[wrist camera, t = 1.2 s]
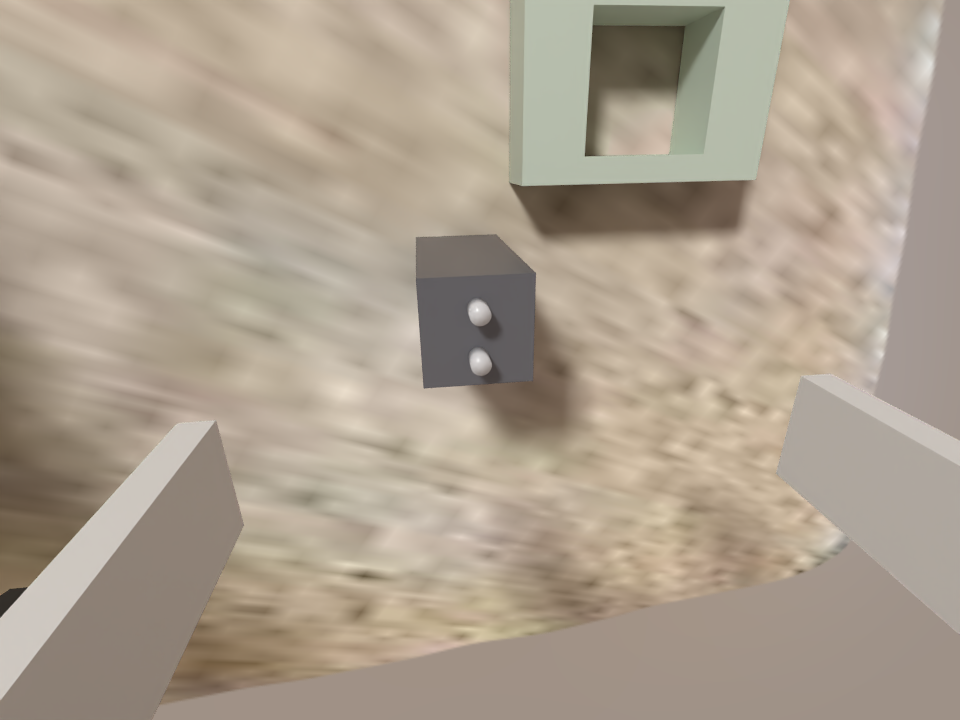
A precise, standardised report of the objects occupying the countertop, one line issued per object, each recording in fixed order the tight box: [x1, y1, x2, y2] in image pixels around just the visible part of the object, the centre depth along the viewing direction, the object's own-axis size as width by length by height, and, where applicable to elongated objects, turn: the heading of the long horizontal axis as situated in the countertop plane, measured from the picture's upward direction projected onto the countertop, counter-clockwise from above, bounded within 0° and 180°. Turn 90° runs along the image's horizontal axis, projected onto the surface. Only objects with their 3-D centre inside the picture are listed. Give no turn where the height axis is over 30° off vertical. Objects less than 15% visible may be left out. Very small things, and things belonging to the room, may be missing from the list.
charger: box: [416, 235, 536, 388], centre depth 23 cm, size 4×4×11 cm
